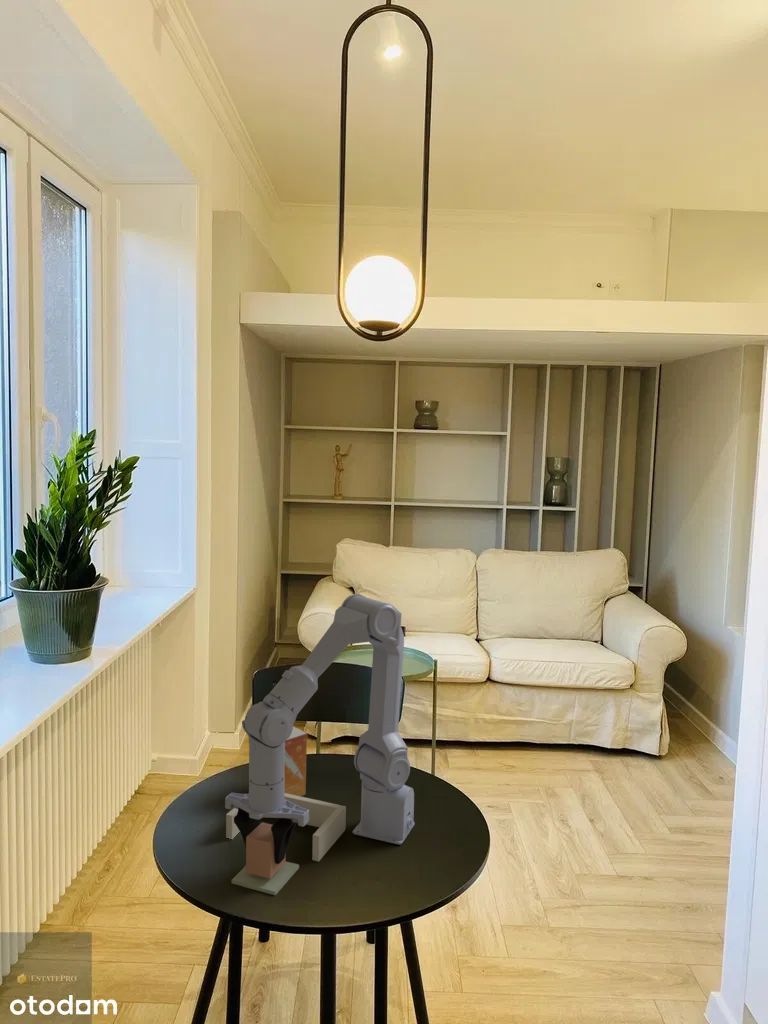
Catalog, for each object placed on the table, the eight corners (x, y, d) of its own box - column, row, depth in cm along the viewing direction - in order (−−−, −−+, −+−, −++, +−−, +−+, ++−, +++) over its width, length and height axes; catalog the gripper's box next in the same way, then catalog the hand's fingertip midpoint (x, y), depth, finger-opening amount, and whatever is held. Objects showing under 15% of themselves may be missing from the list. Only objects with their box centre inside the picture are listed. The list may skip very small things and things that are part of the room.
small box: (273, 807, 142) (274, 743, 141) (255, 796, 146) (255, 733, 145) (306, 794, 147) (307, 732, 146) (288, 783, 152) (288, 723, 151)
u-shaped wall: (345, 829, 134) (345, 806, 134) (318, 861, 124) (319, 836, 124) (258, 809, 141) (258, 787, 140) (226, 838, 131) (226, 814, 130)
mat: (298, 868, 122) (299, 864, 122) (275, 895, 115) (275, 891, 114) (257, 857, 125) (257, 854, 125) (231, 883, 117) (231, 879, 117)
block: (285, 862, 121) (285, 827, 120) (270, 878, 116) (270, 843, 116) (261, 856, 123) (262, 822, 122) (245, 872, 118) (246, 837, 117)
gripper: (214, 779, 117) (214, 859, 118) (295, 797, 112) (293, 880, 113) (238, 761, 123) (238, 838, 125) (315, 777, 118) (314, 857, 120)
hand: (266, 857), depth 119 cm, fingers closed on block, 4 cm apart
